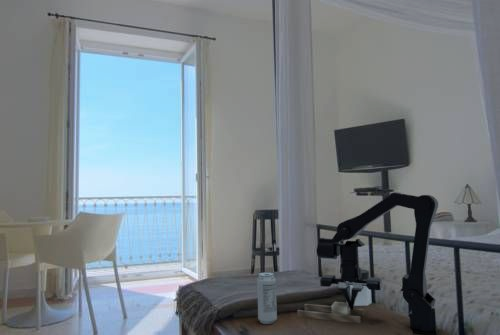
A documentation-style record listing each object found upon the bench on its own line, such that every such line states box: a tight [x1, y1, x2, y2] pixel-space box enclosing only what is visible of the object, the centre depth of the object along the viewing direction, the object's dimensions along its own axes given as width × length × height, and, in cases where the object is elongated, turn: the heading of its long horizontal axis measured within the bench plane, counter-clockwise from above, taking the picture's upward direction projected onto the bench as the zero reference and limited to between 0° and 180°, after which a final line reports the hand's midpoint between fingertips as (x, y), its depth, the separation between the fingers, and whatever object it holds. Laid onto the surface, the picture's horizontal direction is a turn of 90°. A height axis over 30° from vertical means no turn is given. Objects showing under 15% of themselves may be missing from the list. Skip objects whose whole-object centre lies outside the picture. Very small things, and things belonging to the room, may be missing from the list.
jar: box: [350, 268, 372, 307], centre depth 141 cm, size 9×8×12 cm
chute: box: [296, 303, 365, 324], centre depth 126 cm, size 20×9×2 cm, turn 65°
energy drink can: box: [256, 272, 278, 325], centre depth 124 cm, size 6×6×15 cm
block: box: [330, 301, 350, 315], centre depth 125 cm, size 5×5×4 cm
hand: (351, 309), depth 124 cm, fingers closed
